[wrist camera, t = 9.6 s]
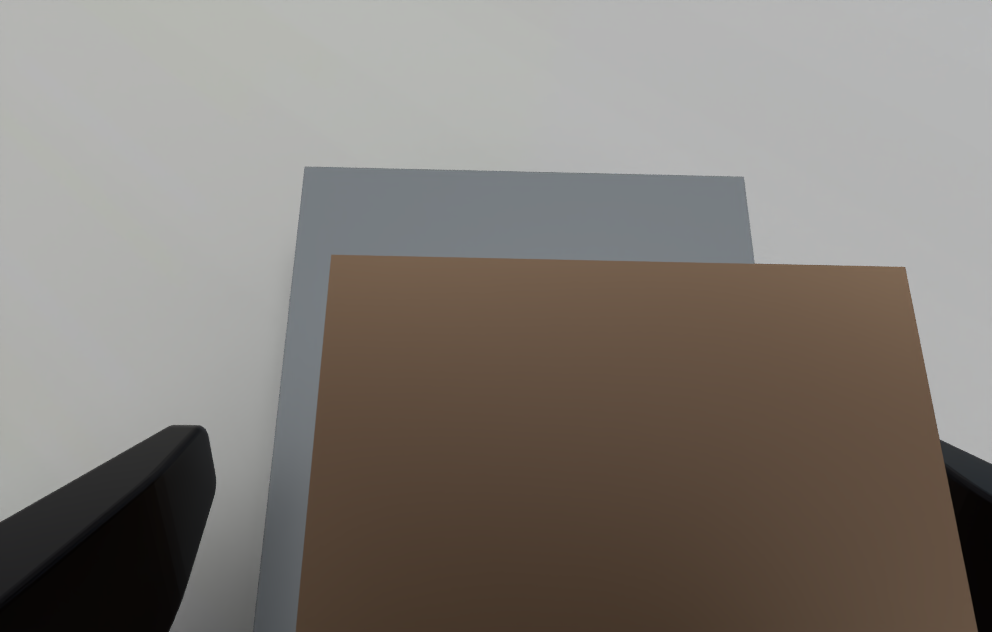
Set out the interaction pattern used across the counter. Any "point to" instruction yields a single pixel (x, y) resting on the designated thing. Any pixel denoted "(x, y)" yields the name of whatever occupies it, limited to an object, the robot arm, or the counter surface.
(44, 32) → the counter surface
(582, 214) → the grey socket block
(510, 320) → the walnut peg
